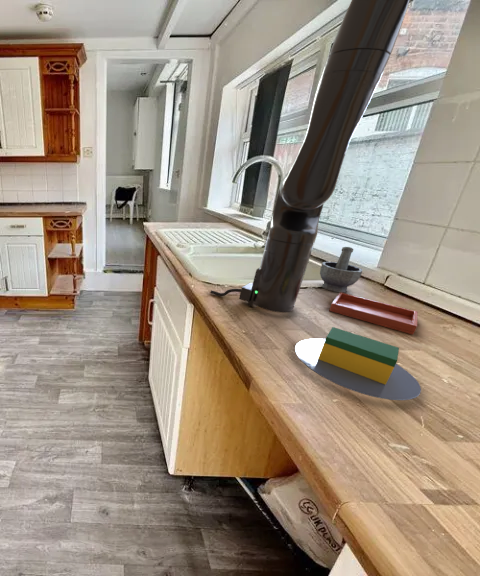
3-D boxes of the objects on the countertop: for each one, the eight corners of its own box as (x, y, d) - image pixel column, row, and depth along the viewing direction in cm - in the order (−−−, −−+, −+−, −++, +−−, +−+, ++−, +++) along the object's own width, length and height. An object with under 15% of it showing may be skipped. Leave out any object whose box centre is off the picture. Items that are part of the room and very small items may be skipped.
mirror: (280, 367, 53) (282, 361, 52) (305, 334, 64) (307, 329, 64) (417, 425, 42) (421, 418, 41) (418, 373, 53) (421, 367, 53)
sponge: (317, 359, 53) (326, 336, 52) (324, 347, 57) (332, 326, 55) (385, 384, 48) (397, 360, 46) (388, 370, 51) (399, 347, 50)
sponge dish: (329, 310, 76) (331, 303, 75) (337, 299, 83) (340, 292, 83) (413, 334, 66) (417, 326, 65) (413, 319, 74) (417, 311, 73)
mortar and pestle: (353, 297, 85) (369, 256, 81) (313, 288, 91) (326, 249, 86) (353, 287, 93) (368, 248, 89) (317, 279, 99) (329, 242, 94)
